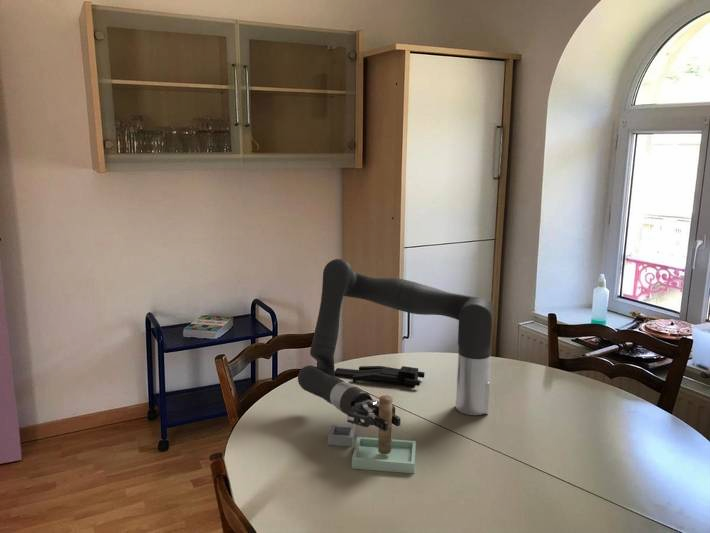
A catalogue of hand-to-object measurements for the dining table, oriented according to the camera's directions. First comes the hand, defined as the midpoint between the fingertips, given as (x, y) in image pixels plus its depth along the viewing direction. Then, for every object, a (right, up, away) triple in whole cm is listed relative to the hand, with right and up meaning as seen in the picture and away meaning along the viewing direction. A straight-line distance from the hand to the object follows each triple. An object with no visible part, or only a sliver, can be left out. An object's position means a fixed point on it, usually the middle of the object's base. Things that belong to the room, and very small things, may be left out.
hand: (393, 424), depth 143 cm
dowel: (-2, -8, +4) cm, 9 cm away
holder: (-13, -8, +14) cm, 20 cm away
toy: (-2, 0, +53) cm, 53 cm away
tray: (-2, -10, +4) cm, 11 cm away
